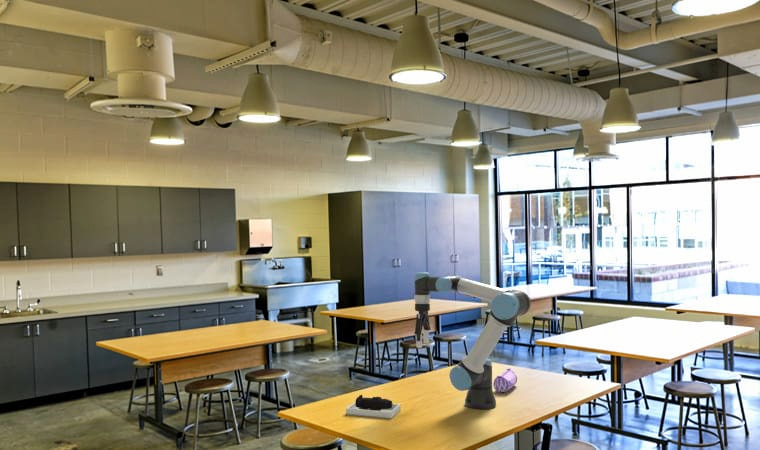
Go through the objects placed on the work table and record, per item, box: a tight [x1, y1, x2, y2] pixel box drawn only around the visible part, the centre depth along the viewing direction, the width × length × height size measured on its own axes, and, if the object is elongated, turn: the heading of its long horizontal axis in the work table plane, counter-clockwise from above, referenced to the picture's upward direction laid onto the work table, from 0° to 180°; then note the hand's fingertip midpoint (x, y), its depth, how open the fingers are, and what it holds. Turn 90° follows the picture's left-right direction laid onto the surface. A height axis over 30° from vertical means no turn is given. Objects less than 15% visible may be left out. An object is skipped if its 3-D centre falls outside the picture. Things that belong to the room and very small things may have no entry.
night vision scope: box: [354, 394, 393, 411], centre depth 282 cm, size 8×18×10 cm
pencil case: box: [493, 368, 518, 393], centre depth 327 cm, size 22×9×10 cm, turn 156°
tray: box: [345, 401, 402, 420], centre depth 284 cm, size 22×14×3 cm, turn 71°
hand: (422, 345), depth 301 cm, fingers open, 13 cm apart
